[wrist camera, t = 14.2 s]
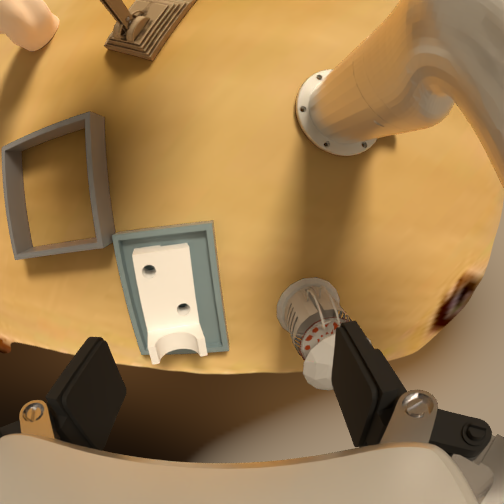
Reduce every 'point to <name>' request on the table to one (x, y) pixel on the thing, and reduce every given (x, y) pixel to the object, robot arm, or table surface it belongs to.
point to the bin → (96, 180)
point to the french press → (313, 326)
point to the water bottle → (27, 23)
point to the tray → (203, 272)
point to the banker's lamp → (144, 25)
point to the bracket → (168, 299)
